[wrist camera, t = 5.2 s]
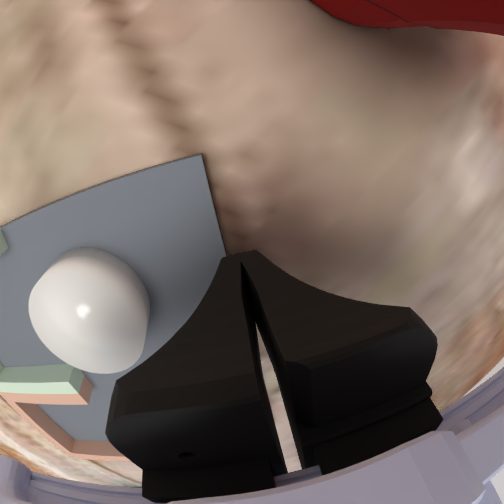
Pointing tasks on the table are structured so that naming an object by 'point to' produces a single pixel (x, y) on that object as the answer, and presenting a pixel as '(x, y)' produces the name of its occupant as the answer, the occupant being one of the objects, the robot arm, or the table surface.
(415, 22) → the plastic cup
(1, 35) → the table surface
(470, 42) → the table surface
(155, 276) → the mat
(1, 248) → the mint green c bracket
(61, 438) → the pink u-shaped rail
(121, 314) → the white dome
